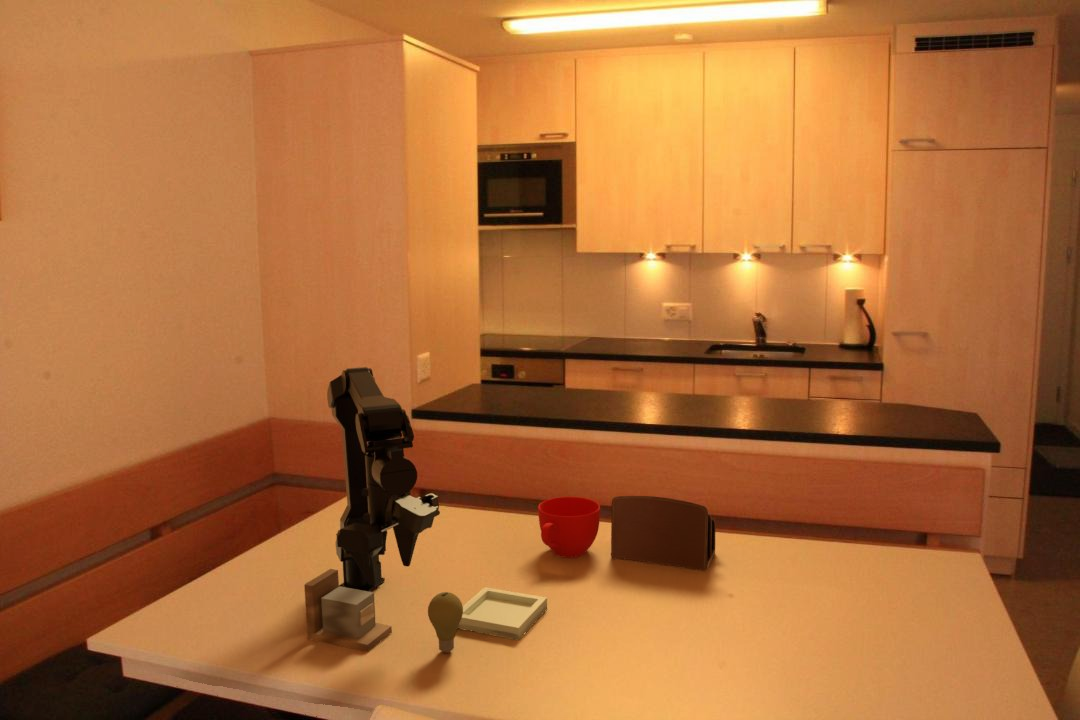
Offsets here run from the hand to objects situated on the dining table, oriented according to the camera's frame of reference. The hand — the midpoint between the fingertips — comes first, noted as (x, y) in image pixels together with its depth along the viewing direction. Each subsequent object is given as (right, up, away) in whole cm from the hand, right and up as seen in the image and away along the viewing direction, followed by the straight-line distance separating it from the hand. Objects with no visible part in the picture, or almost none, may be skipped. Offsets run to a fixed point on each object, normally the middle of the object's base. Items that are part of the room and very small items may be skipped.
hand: (390, 575), depth 137 cm
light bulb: (+9, -12, -2) cm, 16 cm away
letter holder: (+50, -6, +37) cm, 63 cm away
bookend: (-8, -11, +4) cm, 14 cm away
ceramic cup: (+30, -6, +38) cm, 49 cm away
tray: (+18, -10, +10) cm, 23 cm away
